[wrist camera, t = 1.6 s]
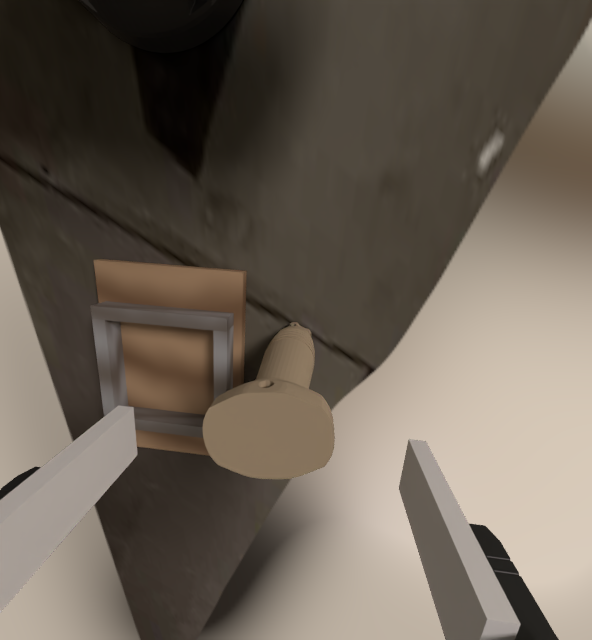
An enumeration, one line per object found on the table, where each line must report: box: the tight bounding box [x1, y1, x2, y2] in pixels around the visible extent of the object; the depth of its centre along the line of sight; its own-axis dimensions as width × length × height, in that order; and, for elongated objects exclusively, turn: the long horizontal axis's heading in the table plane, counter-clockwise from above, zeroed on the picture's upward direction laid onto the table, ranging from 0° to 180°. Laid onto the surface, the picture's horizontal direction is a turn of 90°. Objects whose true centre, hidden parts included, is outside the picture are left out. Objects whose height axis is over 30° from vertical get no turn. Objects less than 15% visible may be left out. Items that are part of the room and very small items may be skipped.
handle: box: [203, 322, 335, 479], centre depth 21 cm, size 5×6×15 cm
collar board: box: [90, 259, 246, 456], centre depth 29 cm, size 20×14×3 cm
